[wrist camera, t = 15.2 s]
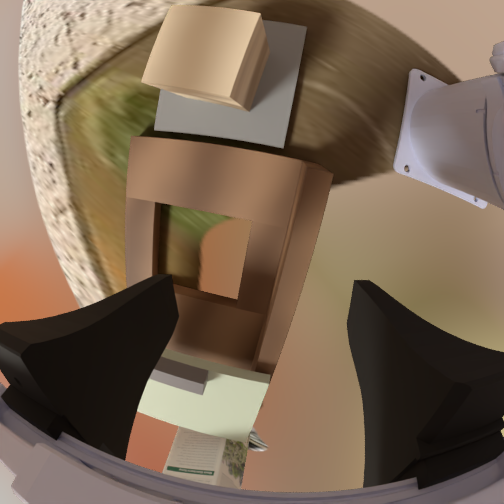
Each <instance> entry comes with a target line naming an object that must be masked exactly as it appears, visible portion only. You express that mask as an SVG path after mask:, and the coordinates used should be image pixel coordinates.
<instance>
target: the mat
mask: <svg viewBox="0 0 504 504" xmlns="http://www.w3.org/2000/svg"><path fill="white" fill-rule="evenodd" d="M262 21H263V25H264V29H265V33H266V37H267V41H268V45H269V49H270V54H269V57H268V59H267V62H266V65H265V68H264V71H263V73H262V76H261V79H260V82H259V85H258V88H257V91H256V94H255V97H254V100H253V103H252V106H251V109H250V112H247V111H243V110H240V109H236V108H232V107H228V106H223V105H219V104H215V103H210V102H206V101H201V100H196V99H191V98H185V97H183V96H180V95H177V94H175V93H172V92H169V91H166V90H163V89H161V91H160V97H159V102H158V108H157V114H156V120H155V127H154V130H156V131H169V132H180V133H189V134H198V135H206V136H214V137H221V138H228V139H235V140H241V141H247V142H253V143H258V144H264V145H269V146H274V147H279V148H284V143H285V138H286V133H287V128H288V123H289V118H290V113H291V108H292V103H293V98H294V93H295V88H296V82H297V77H298V72H299V67H300V62H301V57H302V51H303V46H304V41H305V36H306V30H307V27H306V26H300V25H295V24H289V23H282V22H275V21H267V20H262Z"/></svg>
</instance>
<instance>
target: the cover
mask: <svg viewBox="0 0 504 504" xmlns="http://www.w3.org/2000/svg"><path fill="white" fill-rule="evenodd" d="M269 383H270V375H269V374H264V373H259V372H254V371H249V370H244V369H240V368H236V367H231V366H227V365H223V364H219V363H215V362H211V361H207V360H204V359H200V358H196V357H193V356H189V355H186V354H182V353H179V352H176V351H172V350H169V349H166V348H165V350H164V352H163V354H162V355H161V357H160V359H159V361H158V363H157V364H156V366H155V368H154V370H153V372H152V374H151V376H150V378H149V380H148V382H147V384H146V387H145V389H144V392H143V395H142V397H141V400H140V403H139V406H138V409H137V411H138V412H141V413H143V414H146V415H148V416H151V417H154V418H157V419H159V420H162V421H165V422H168V423H171V424H174V425H178V426H181V427H184V428H187V429H191V430H194V431H198V432H201V433H205V434H209V435H213V436H217V437H221V438H226V439H230V440H235V441H240V442H245V443H246V440H247V438H248V436H249V433H250V431H251V429H252V426H253V424H254V421H255V419H256V417H257V414H258V412H259V409H260V407H261V404H262V402H263V399H264V397H265V394H266V391H267V388H268V386H269Z"/></svg>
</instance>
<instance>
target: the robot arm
mask: <svg viewBox="0 0 504 504" xmlns="http://www.w3.org/2000/svg"><path fill="white" fill-rule="evenodd" d="M492 54H493V57H491V58H490V63H491V65H492V67H493V69H494V71H495V72H497V73H498V74H495V75H490V76H485V77H481V78H476V79H472V80H468V81H463V82H459V83H456V84H452V85H448V84H446V83H444V82H442V81H440V80H438V79H436V78H435V77H433V76H431V75H429V74H427V73H425V72H423V71H420V70H418V69H412V70H411V71H410V72H409V80H408V88H407V95H406V102H405V108H404V114H403V120H402V125H401V130H400V136H399V140H398V145H397V150H396V154H395V159H394V163H393V167H394V170H395V171H396V172H398V173H400V174H403V175H406V176H408V177H411V178H414V179H416V180H419V181H421V182H424V183H426V184H429V185H431V186H434V187H436V188H439V189H441V190H443V191H446V192H448V193H450V194H452V195H455V196H457V197H459V198H461V199H463V200H465V201H468V202H470V203H472V204H474V205H476V206H478V207H480V208H482V209H484V208H485V207H486V206H487V203H490V204H493V205H495V206H497V207H499V208H501V209H503V210H504V41H503V42H500V43H498V44H495V45H494V47H493V52H492ZM420 75H421V76H422V77H423V78H424V81H422V80H421V78H420ZM406 165H408V171H407V172H405V170H404V167H405V166H406ZM474 197H476V199H475V201H474ZM178 319H179V312H178V307H177V302H176V297H175V291H174V286H173V280H172V275H166V274H157V275H154V276H151V277H149V278H147V279H145V280H143V281H140V282H138V283H136V284H134V285H132V286H130V287H128V288H126V289H124V290H122V291H120V292H118V293H116V294H114V295H112V296H110V297H107V298H105V299H103V300H101V301H99V302H96V303H94V304H91V305H89V306H86V307H83V308H80V309H78V310H75V311H71V312H68V313H64V314H61V315H57V316H53V317H48V318H43V319H37V320H30V321H20V322H4V323H2V324H0V370H1V372H2V373H3V374H4V376H5V378H6V379H7V381H8V382H9V383H10V384H11V385H10V386H9V387H8V388H7V389H6V388H5V387H4V386H3V384H1V383H0V461H1V462H2V463H3V464H4V465H5V467H6V468H7V469H8V470H9V471H10V472H11V473H12V474H13V475H14V476H15V477H16V478H15V480H14V481H13V483H12V485H11V487H12V490H13V492H14V494H15V495H16V496H17V497H18V498H19V499H20V500H21V501H22V502H23V503H24V504H504V437H503V435H502V433H501V430H502V429H503V428H504V421H503V418H502V417H503V416H504V352H500V351H496V350H491V349H488V348H485V347H482V346H479V345H476V344H473V343H470V342H467V341H465V340H462V339H460V338H458V337H456V336H454V335H451V334H449V333H447V332H445V331H443V330H441V329H439V328H438V327H436V326H434V325H432V324H430V323H429V322H427V321H425V320H424V319H422V318H421V317H419V316H417V315H416V314H415V313H413V312H412V311H410V310H409V309H407V308H406V307H405V306H403V305H402V304H401V303H399V302H398V301H397V300H395V299H394V298H393V297H391V296H390V295H389V294H388V293H386V292H385V291H384V290H382V289H381V288H380V287H378V286H377V285H376V284H374V283H373V282H371V281H370V280H354V284H353V291H352V297H351V303H350V309H349V315H348V320H347V330H348V338H349V345H350V349H351V353H352V357H353V361H354V364H355V368H356V372H357V376H358V381H359V385H360V389H361V394H362V400H363V411H364V425H365V469H364V484H363V488H359V489H351V490H341V491H328V492H304V493H302V492H301V493H294V492H293V493H291V492H265V491H253V490H244V489H235V488H228V487H222V486H216V485H210V484H205V483H200V482H195V481H190V480H186V479H182V478H178V477H174V476H170V475H167V474H163V473H160V472H156V471H153V470H150V469H147V468H144V467H141V466H138V465H135V464H132V463H130V462H127V461H125V458H126V453H127V447H128V442H129V438H130V434H131V430H132V426H133V422H134V419H135V415H136V412H137V409H138V406H139V403H140V400H141V397H142V395H143V392H144V389H145V387H146V384H147V382H148V380H149V378H150V376H151V374H152V372H153V370H154V368H155V366H156V364H157V363H158V361H159V359H160V357H161V355H162V354H163V352H164V350H165V348H166V346H167V344H168V343H169V341H170V339H171V337H172V335H173V332H174V330H175V327H176V324H177V322H178ZM111 479H112V480H111ZM141 491H142V492H141Z"/></svg>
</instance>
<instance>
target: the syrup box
mask: <svg viewBox="0 0 504 504" xmlns="http://www.w3.org/2000/svg"><path fill="white" fill-rule="evenodd" d="M249 437H250V433H249V436H248V438H247V440H246V443H245V442H240V441H235V440H230V439H226V438H221V437H217V436H213V435H209V434H205V433H201V432H198V431H194V430H191V429H187V428H184V427H181V426H179V428H178V431H177V434H176V436H175V439H174V442H173V445H172V447H171V450H170V453H169V455H168V458H167V461H166V464H165V466H164V469H163V472H162V473H163V474H167V475H170V476H174V477H178V478H182V479H186V480H190V481H195V482H200V483H205V484H210V485H216V486H222V487H228V488H235V489H241V485H242V479H243V473H244V467H245V462H246V456H247V450H248V444H249Z"/></svg>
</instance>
